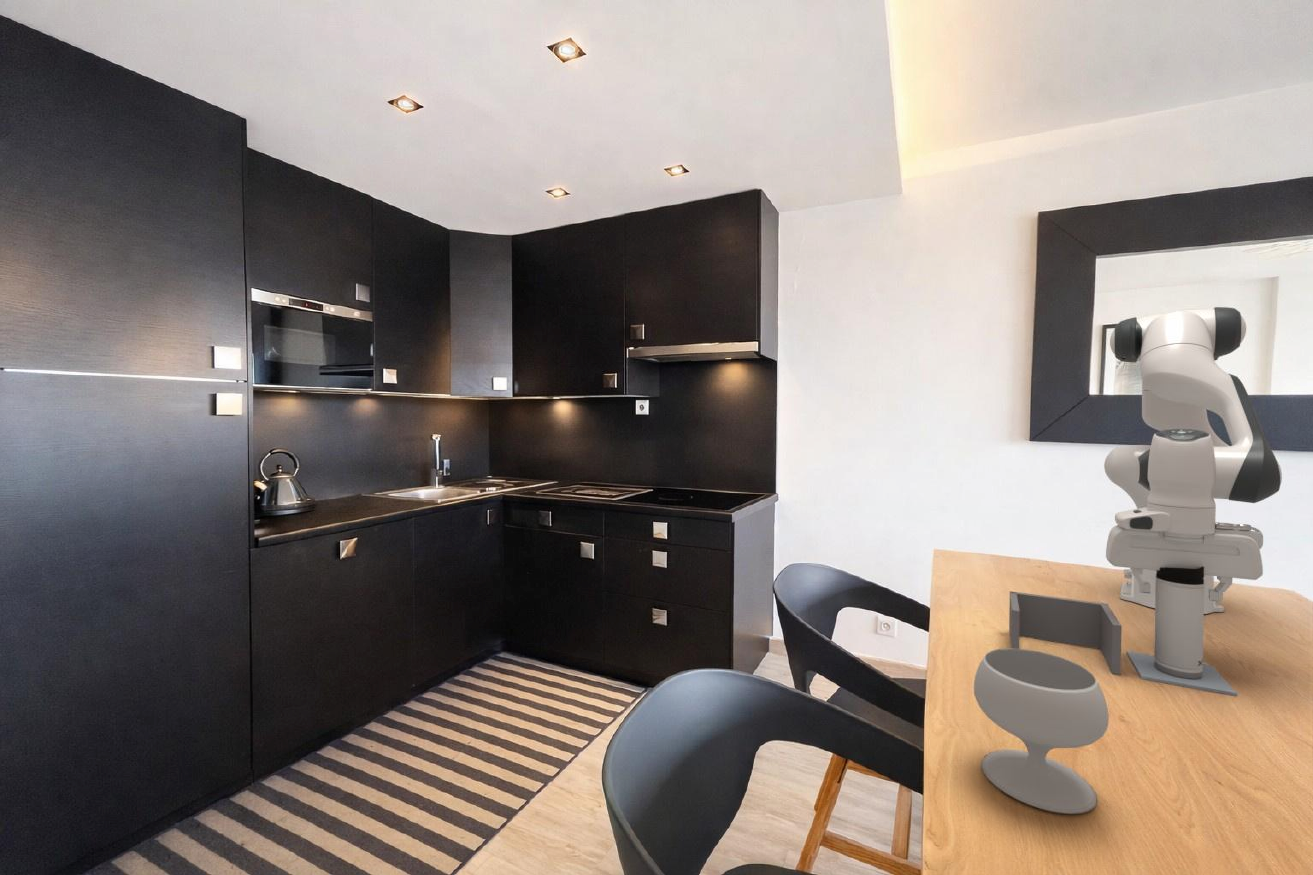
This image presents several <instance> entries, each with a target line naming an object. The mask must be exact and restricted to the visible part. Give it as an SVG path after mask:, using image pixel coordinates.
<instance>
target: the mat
mask: <svg viewBox="0 0 1313 875" xmlns="http://www.w3.org/2000/svg"><path fill="white" fill-rule="evenodd" d="M1126 655H1127V657H1128V659H1129V661H1130V662H1131V664H1132V665H1133V667H1134V669H1135V671H1136V672H1137V674H1138V676H1139V678H1140V679H1141V680H1146V681H1150V682H1156V683H1161V684H1162V683H1163V684H1166V685H1172V684H1174V685H1173V686H1179V687H1182V688H1183V687H1184V688H1190V689H1196V690H1199V691H1200V690H1201V691H1207V692H1212V693H1217V694H1224V695H1228V696H1233V697H1238V693H1237V691H1236V690H1235V689H1234V688H1233V687H1232V686H1231V685H1230V684H1229V683H1228V681H1226V679H1225V678H1224V677H1223V676H1222V675H1221V674H1220V673H1219V672H1218V670H1217V669H1216V668H1215V667H1214V666H1213V665H1212V664H1209V663H1204V662H1203V667H1202V669H1203V672H1202V677H1201V678H1198V679H1185V678H1180V677H1176V676H1172V675H1169V674H1166V673H1164V672H1161V671H1160V670H1158V669H1157V668H1156V667H1155V666H1154V658H1155V657H1154V654H1148V653H1143V652H1135V651H1130V650H1126Z"/></svg>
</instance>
